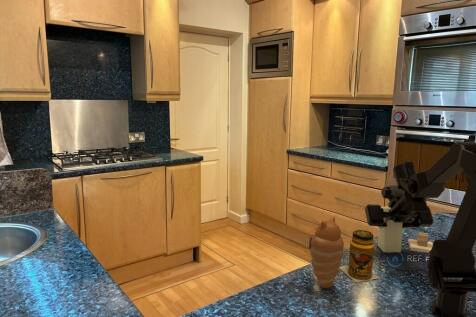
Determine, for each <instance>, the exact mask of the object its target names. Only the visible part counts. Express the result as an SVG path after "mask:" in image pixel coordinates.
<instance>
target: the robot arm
mask: <svg viewBox="0 0 476 317" xmlns="http://www.w3.org/2000/svg"><path fill="white" fill-rule="evenodd" d="M463 170H464V171H463ZM462 171H463V174H464V176H465V179H466V183H467V187H466V190H465V192H464V195H463V198H462V200H461V203H460V205H459V207H458V209H457V211H456V215H455V218H454V220H453V222H452V224H451V228H450V230H449V232H448V235H447V237H446V238H445V239H435V240H434V241H432V243H433V246H432V249H431V250H430V251H429V253H428V254H429V257H428V259H427V272H428V273H427V274H428V282H429V283H430V287H431V288H433V289H436V290H437V292H436V298H434V301H433V302H434V303H433V305H432V310H431V313H432V314H433V315H435V316H438V317H468V308H467V302H468V295H469V293H476V267H475V266H476V258H475V254H474V253H473V248H474V246H475V244H476V142H473V141H471V142H470V141H469V142H468V141H457V142H455V143H452V144H451V146H450V147H449V150H447V151H446V152H445V153H444V154H443V155H442V156H441V157H440V158H439V159H438V160H436V161H435V162H434V163H433V164H432V165H431V166H430V167H429V168H428V169H427V170H425V171H420V172H417V171H416V169H415V165H414V162H413V161H404V163H400V164H398V165H396V166H394V167H393V168H392V173H393V176H394V179H395V182H396V185H388V186H387V185H386V186H383V187H382V189H381V191H380V193H381V194H380V195H381V196H382V198H383V199H387V200H388V201H389V202H388V203H387V205H388V206H387V207H389V208H391V209H389V212H384V210H383V208H381V207H382V206H381V205H380V204H373V203H371V204H370V203H368V204H367V205H366V206H365V208H364V212H365V218H366V221H367V222H366V223H367V225H368V226H369V227H377V228H378V227H379V228H384V227H387V222H388V220H392V221H394V223H402V229H410V228H411V229H412V228H421V227H422V228H430V227H431V226H432V225H433V224H434V223H435V222H434V217H433V216H434V215H433V213H432V210H431V208H430V207H429V205H428V204H427V201H428V200H427V199H438V198H439V197H440V196H441V195H442V194H443V192H445V190H446V189H445V188H446V187H445V185H446V184H447V182H449V181H450V180H451V179H453V178H454V177H456V175H458V174H459V173H460V172H462ZM390 217H391V218H390Z"/></svg>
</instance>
